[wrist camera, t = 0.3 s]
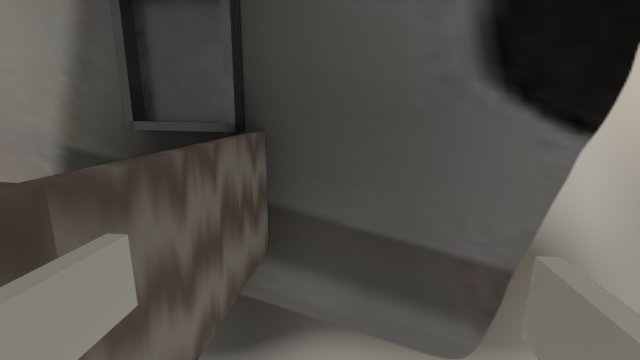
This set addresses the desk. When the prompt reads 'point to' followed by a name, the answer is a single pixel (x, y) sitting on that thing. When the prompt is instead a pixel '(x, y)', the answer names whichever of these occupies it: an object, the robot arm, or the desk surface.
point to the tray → (180, 64)
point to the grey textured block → (153, 237)
